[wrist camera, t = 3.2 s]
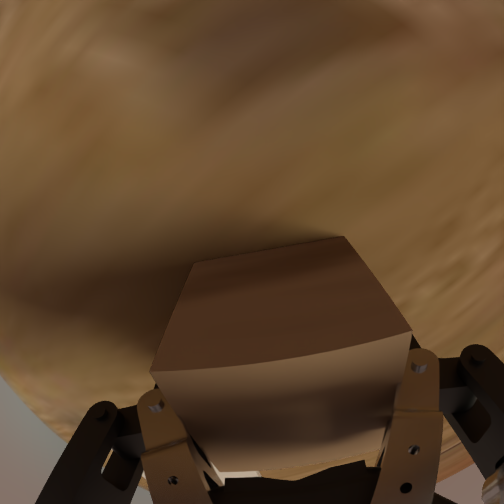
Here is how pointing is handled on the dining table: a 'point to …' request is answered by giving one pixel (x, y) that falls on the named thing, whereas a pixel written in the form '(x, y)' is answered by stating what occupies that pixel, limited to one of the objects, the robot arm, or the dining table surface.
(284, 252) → the cube
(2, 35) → the dining table surface
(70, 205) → the dining table surface
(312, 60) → the dining table surface
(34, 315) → the dining table surface
